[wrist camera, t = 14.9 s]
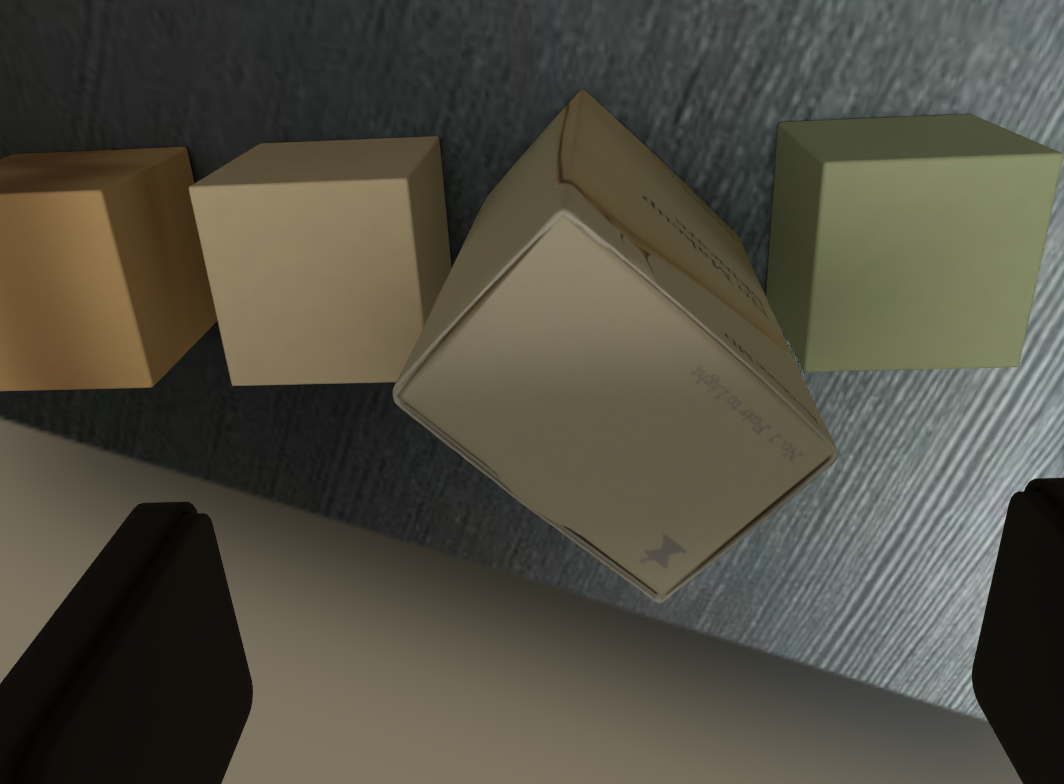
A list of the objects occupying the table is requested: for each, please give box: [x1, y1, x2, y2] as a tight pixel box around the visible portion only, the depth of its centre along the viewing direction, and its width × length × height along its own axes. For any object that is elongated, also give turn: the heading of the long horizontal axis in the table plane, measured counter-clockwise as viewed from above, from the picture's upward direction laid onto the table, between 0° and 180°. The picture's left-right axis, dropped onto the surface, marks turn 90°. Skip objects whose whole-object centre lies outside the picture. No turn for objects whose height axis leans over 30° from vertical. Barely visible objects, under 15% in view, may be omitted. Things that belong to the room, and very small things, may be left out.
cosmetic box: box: [392, 90, 838, 603], centre depth 19 cm, size 6×4×12 cm
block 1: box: [0, 147, 218, 391], centre depth 24 cm, size 5×5×5 cm
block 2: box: [189, 136, 452, 386], centre depth 23 cm, size 5×5×5 cm
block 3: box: [766, 114, 1063, 372], centre depth 22 cm, size 5×5×5 cm
